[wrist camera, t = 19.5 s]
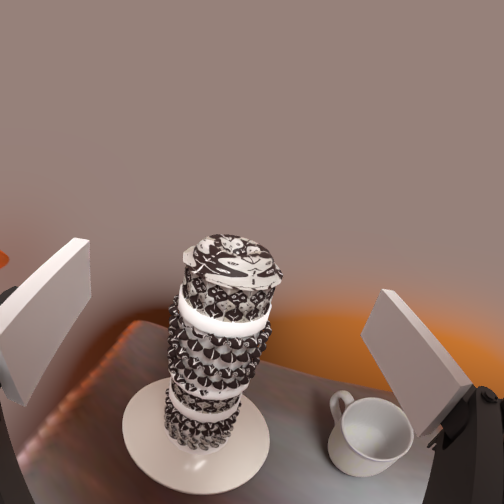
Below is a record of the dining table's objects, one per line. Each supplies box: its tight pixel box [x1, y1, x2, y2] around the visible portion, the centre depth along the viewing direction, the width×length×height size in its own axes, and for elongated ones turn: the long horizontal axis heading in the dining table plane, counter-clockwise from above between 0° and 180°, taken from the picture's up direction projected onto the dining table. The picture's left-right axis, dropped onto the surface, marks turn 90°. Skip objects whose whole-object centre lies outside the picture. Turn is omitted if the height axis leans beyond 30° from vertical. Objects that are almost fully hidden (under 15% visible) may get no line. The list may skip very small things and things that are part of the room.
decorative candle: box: [164, 234, 283, 455], centre depth 27 cm, size 9×9×25 cm
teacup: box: [328, 390, 414, 477], centre depth 32 cm, size 14×11×8 cm
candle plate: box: [122, 378, 270, 495], centre depth 32 cm, size 19×19×1 cm
